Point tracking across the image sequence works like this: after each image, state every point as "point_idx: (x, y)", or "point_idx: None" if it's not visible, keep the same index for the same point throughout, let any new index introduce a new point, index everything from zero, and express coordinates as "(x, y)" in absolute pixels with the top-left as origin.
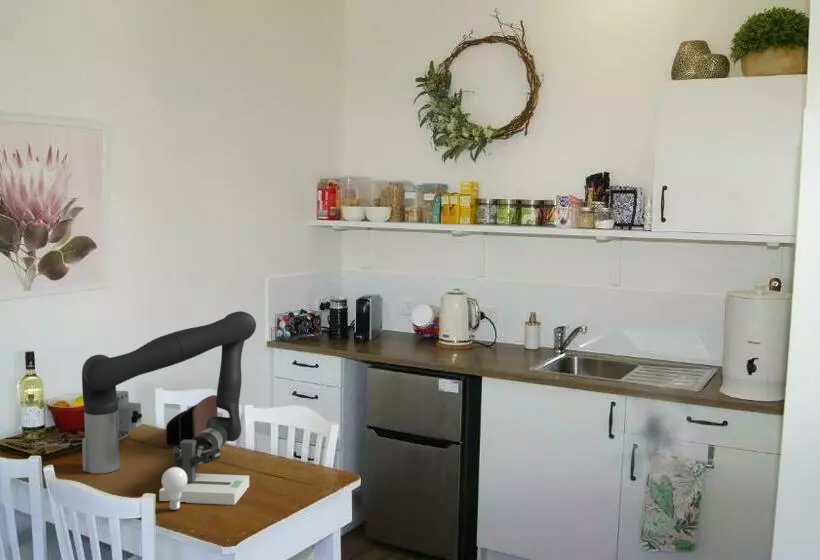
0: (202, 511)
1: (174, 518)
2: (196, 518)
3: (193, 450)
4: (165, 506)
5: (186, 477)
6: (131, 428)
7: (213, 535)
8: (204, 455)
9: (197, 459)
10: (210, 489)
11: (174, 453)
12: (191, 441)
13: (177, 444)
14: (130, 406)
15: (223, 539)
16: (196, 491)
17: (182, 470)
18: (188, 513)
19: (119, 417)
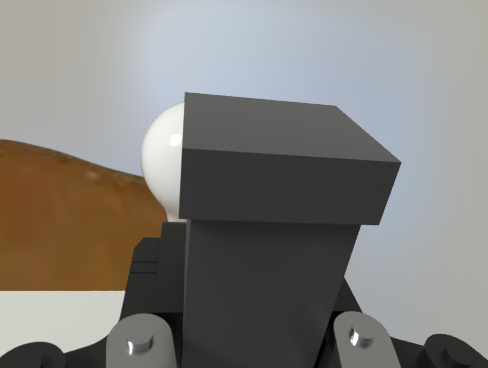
0: (74, 265)
1: (167, 220)
2: (91, 222)
3: (188, 222)
4: None
5: (142, 143)
6: None
7: (31, 160)
8: (48, 349)
9: (129, 273)
10: (26, 332)
11: (459, 340)
12: (228, 119)
13: None
14: None
15: (5, 150)
16: (114, 297)
17: (164, 114)
18: (129, 249)
19: None
